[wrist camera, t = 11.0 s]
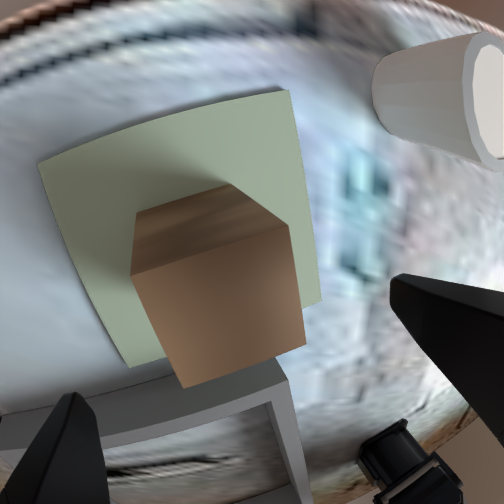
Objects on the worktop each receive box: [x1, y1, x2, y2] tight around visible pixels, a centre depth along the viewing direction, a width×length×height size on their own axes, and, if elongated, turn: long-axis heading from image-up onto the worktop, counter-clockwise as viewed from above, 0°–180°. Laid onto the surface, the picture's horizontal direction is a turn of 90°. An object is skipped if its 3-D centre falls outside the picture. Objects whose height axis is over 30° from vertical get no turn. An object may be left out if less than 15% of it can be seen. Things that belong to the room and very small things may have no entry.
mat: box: [37, 90, 322, 368], centre depth 15 cm, size 12×12×1 cm
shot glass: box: [371, 31, 504, 172], centre depth 13 cm, size 7×7×7 cm
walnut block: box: [130, 184, 306, 388], centre depth 12 cm, size 4×4×6 cm
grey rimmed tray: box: [0, 357, 313, 504], centre depth 21 cm, size 20×24×4 cm
